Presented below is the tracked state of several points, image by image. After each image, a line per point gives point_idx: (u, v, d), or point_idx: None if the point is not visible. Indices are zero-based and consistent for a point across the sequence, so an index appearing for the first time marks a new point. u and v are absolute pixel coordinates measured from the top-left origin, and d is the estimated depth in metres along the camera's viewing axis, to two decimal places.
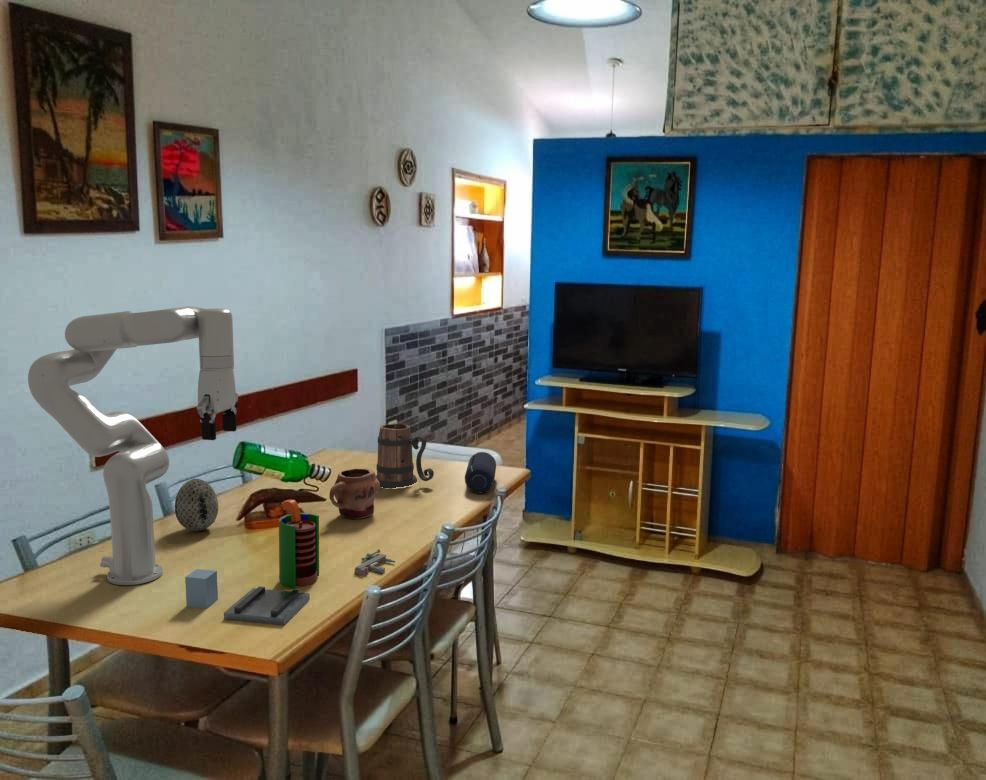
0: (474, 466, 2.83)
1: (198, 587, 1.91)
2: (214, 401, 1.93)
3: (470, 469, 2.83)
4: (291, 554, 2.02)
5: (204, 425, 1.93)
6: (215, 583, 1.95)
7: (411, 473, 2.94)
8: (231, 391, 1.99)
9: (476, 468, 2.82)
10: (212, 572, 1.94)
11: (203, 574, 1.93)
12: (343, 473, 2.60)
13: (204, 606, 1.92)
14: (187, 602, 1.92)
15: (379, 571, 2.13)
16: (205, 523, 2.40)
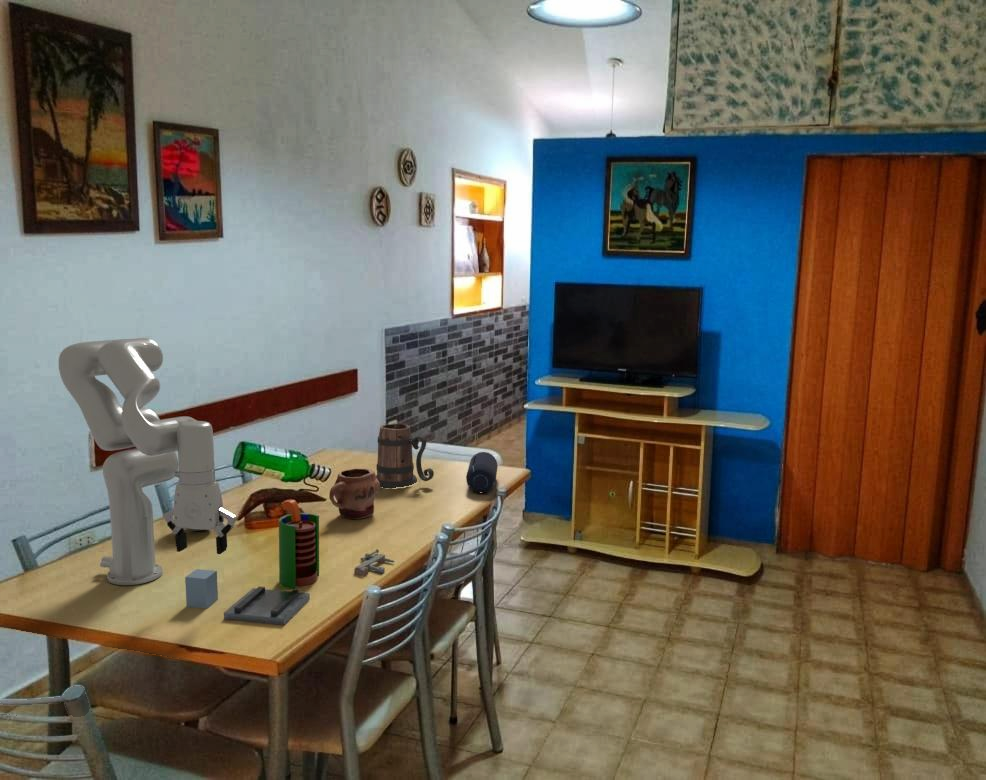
0: (476, 466, 2.83)
1: (198, 587, 1.91)
2: None
3: (472, 469, 2.83)
4: (291, 554, 2.02)
5: (224, 538, 1.90)
6: (215, 583, 1.95)
7: (411, 473, 2.94)
8: None
9: (478, 468, 2.82)
10: (212, 572, 1.94)
11: (203, 574, 1.93)
12: (343, 473, 2.60)
13: (204, 606, 1.92)
14: (187, 602, 1.92)
15: (379, 571, 2.14)
16: None
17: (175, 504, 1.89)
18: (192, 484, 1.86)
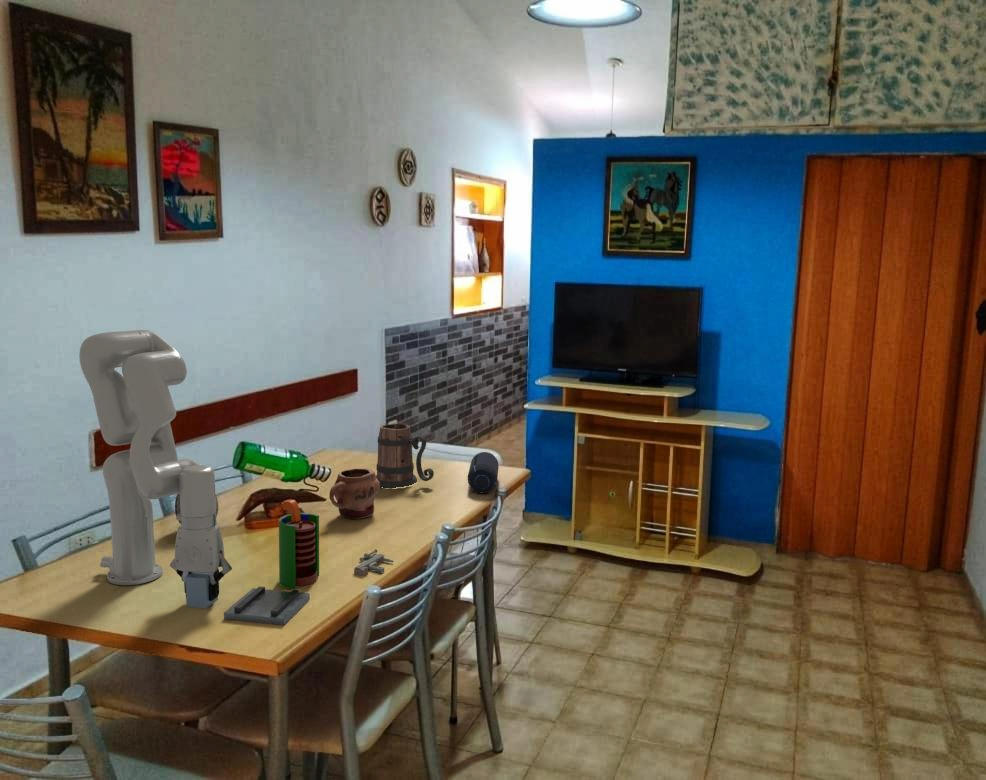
0: (477, 466, 2.84)
1: (198, 587, 1.91)
2: None
3: (473, 469, 2.83)
4: (291, 554, 2.02)
5: (216, 585, 1.93)
6: None
7: (411, 473, 2.94)
8: None
9: (479, 468, 2.82)
10: None
11: (203, 574, 1.93)
12: (343, 473, 2.60)
13: (204, 606, 1.92)
14: (187, 602, 1.92)
15: (379, 571, 2.14)
16: None
17: (176, 547, 1.90)
18: (193, 529, 1.88)
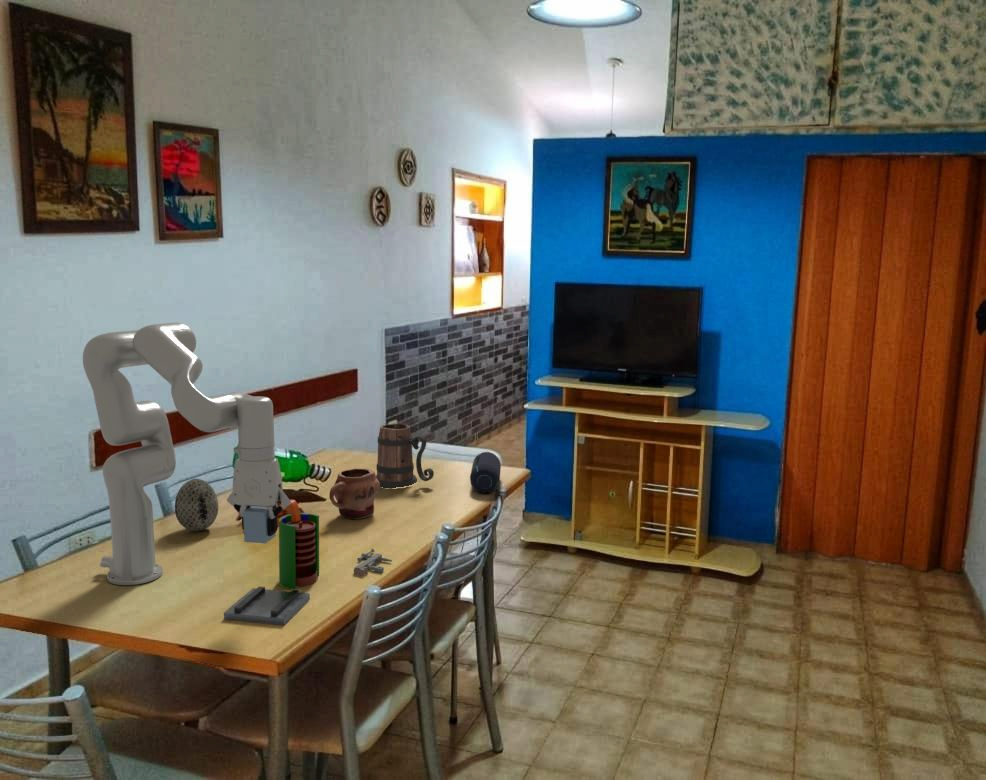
0: (479, 466, 2.84)
1: (257, 521, 1.86)
2: (282, 488, 1.88)
3: (475, 469, 2.83)
4: (291, 554, 2.02)
5: (274, 520, 1.87)
6: None
7: (411, 473, 2.94)
8: None
9: (482, 468, 2.82)
10: None
11: (261, 509, 1.87)
12: (343, 473, 2.60)
13: (262, 541, 1.86)
14: (245, 537, 1.87)
15: (378, 570, 2.14)
16: (205, 523, 2.40)
17: (234, 480, 1.85)
18: (252, 460, 1.82)
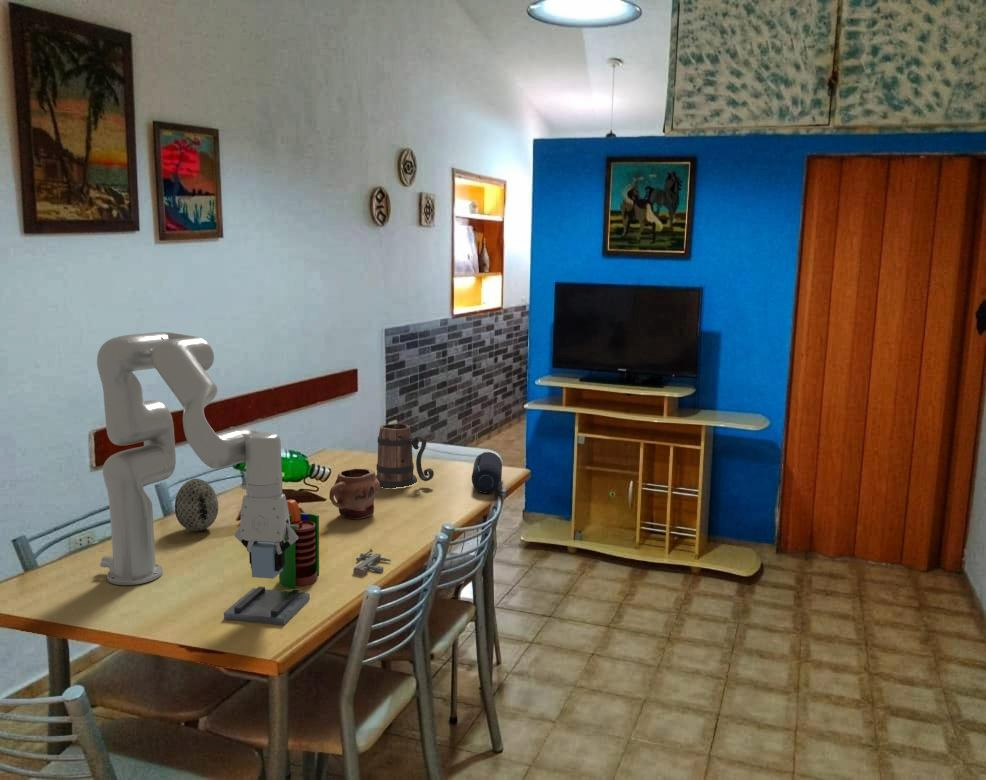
0: (481, 466, 2.84)
1: (264, 557, 1.87)
2: None
3: (477, 469, 2.83)
4: (291, 554, 2.02)
5: (282, 555, 1.88)
6: None
7: (411, 473, 2.94)
8: None
9: (483, 468, 2.82)
10: None
11: (268, 544, 1.89)
12: (343, 473, 2.60)
13: (270, 576, 1.87)
14: (253, 572, 1.88)
15: (378, 570, 2.14)
16: (205, 523, 2.40)
17: (242, 516, 1.86)
18: (260, 497, 1.84)
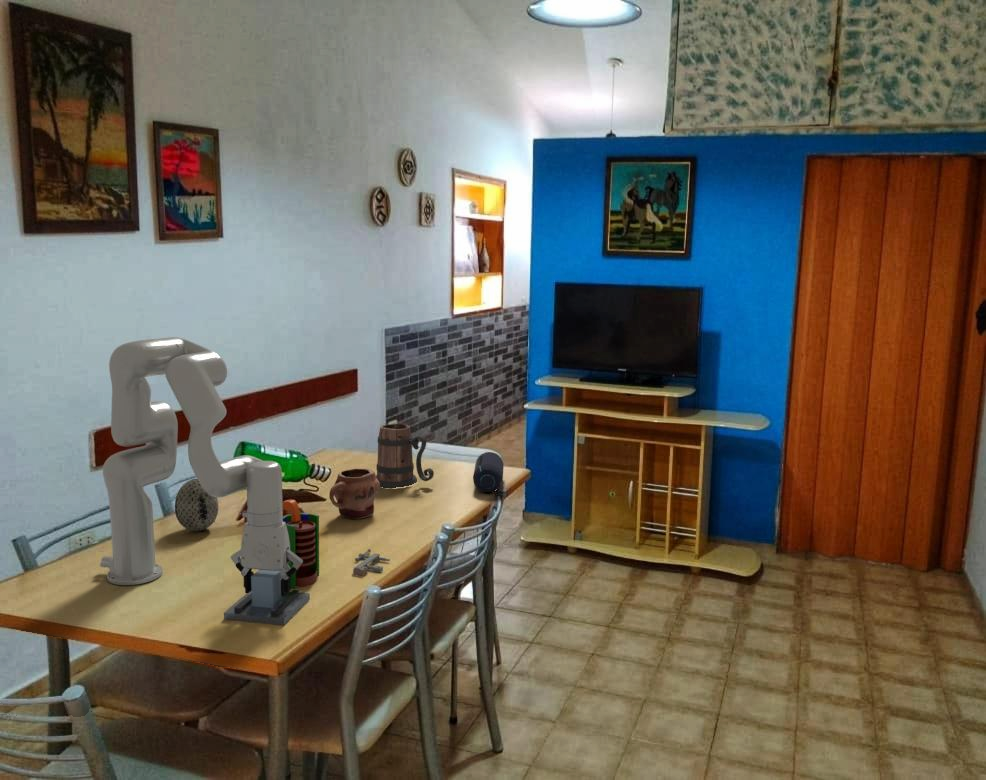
0: (482, 466, 2.84)
1: (264, 586, 1.88)
2: None
3: (478, 469, 2.83)
4: None
5: (288, 580, 1.89)
6: (280, 582, 1.92)
7: (411, 473, 2.94)
8: None
9: (485, 468, 2.82)
10: (277, 571, 1.91)
11: (268, 574, 1.90)
12: (343, 473, 2.60)
13: (270, 605, 1.89)
14: (253, 602, 1.89)
15: (378, 570, 2.14)
16: (205, 523, 2.40)
17: (243, 544, 1.87)
18: (261, 525, 1.85)
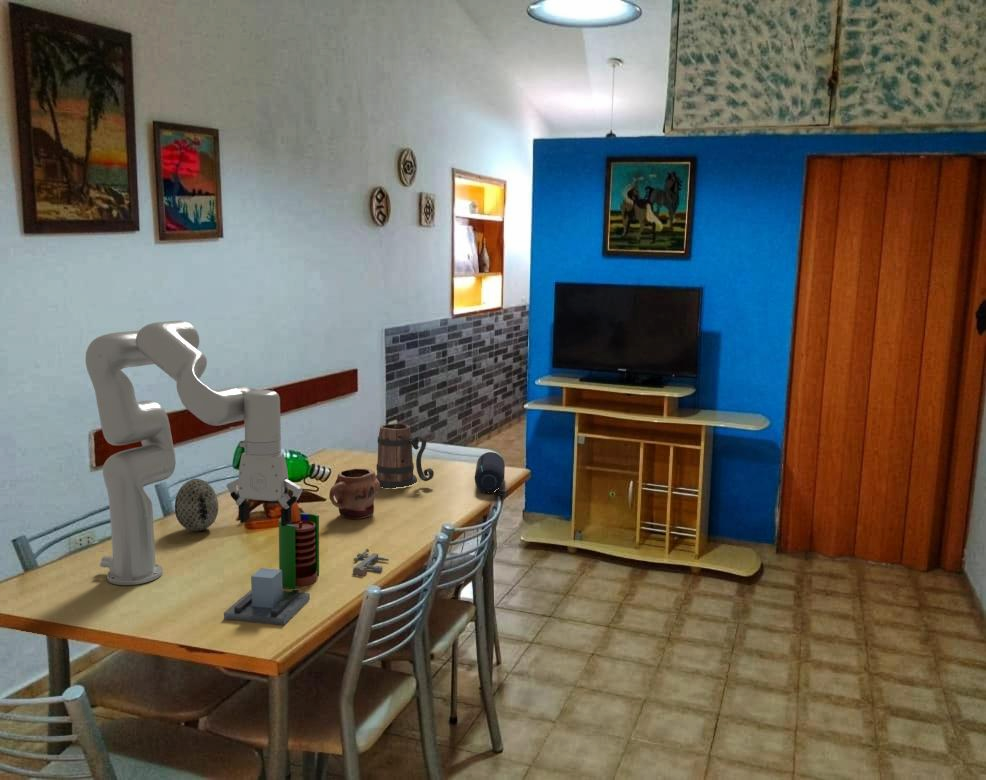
0: (484, 466, 2.84)
1: (264, 586, 1.88)
2: None
3: (480, 469, 2.84)
4: (291, 554, 2.02)
5: (288, 510, 1.86)
6: (280, 582, 1.92)
7: (411, 473, 2.94)
8: None
9: (486, 468, 2.82)
10: (277, 571, 1.91)
11: (268, 574, 1.90)
12: (343, 473, 2.60)
13: (270, 605, 1.89)
14: (253, 602, 1.89)
15: (377, 570, 2.14)
16: (205, 523, 2.40)
17: (240, 474, 1.85)
18: (259, 454, 1.82)
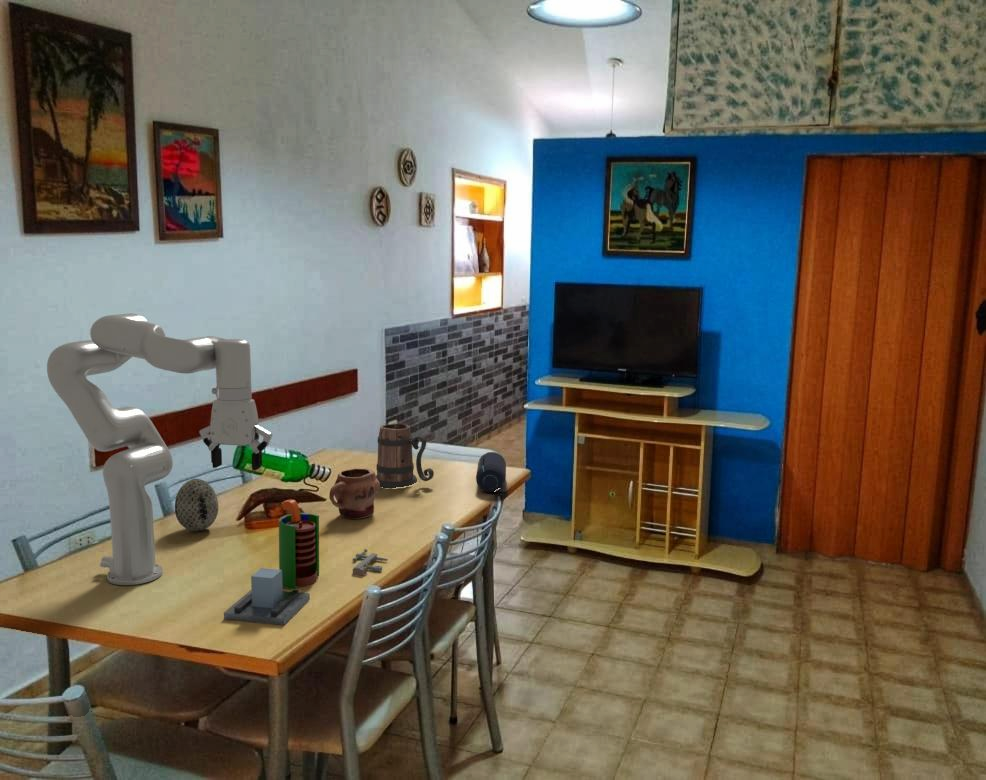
0: (485, 466, 2.84)
1: (264, 586, 1.88)
2: None
3: (481, 469, 2.84)
4: (291, 554, 2.02)
5: (259, 454, 1.93)
6: (280, 582, 1.92)
7: (411, 473, 2.94)
8: None
9: (488, 468, 2.82)
10: (277, 571, 1.91)
11: (268, 574, 1.90)
12: (343, 473, 2.60)
13: (270, 605, 1.89)
14: (253, 602, 1.89)
15: (377, 570, 2.14)
16: (205, 523, 2.40)
17: (212, 419, 1.92)
18: (230, 400, 1.89)
